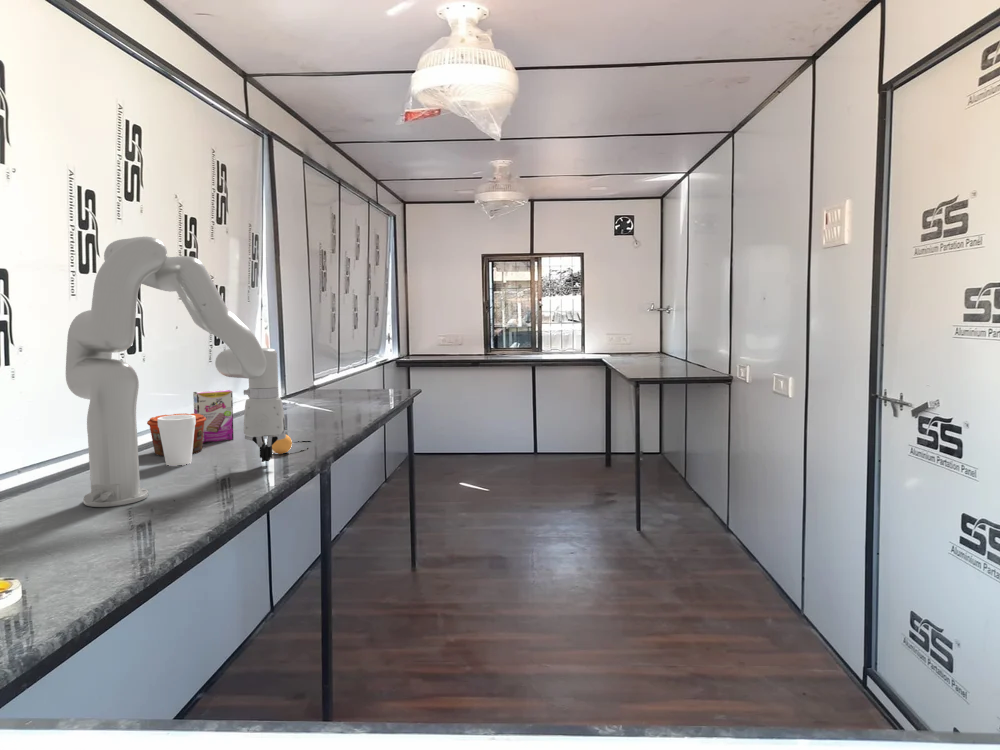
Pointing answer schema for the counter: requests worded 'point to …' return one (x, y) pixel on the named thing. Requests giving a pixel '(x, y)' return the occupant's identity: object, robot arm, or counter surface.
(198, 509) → the counter surface
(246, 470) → the counter surface
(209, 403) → the candy bar box
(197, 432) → the food container
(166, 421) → the foam cup
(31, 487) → the counter surface
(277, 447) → the ball
